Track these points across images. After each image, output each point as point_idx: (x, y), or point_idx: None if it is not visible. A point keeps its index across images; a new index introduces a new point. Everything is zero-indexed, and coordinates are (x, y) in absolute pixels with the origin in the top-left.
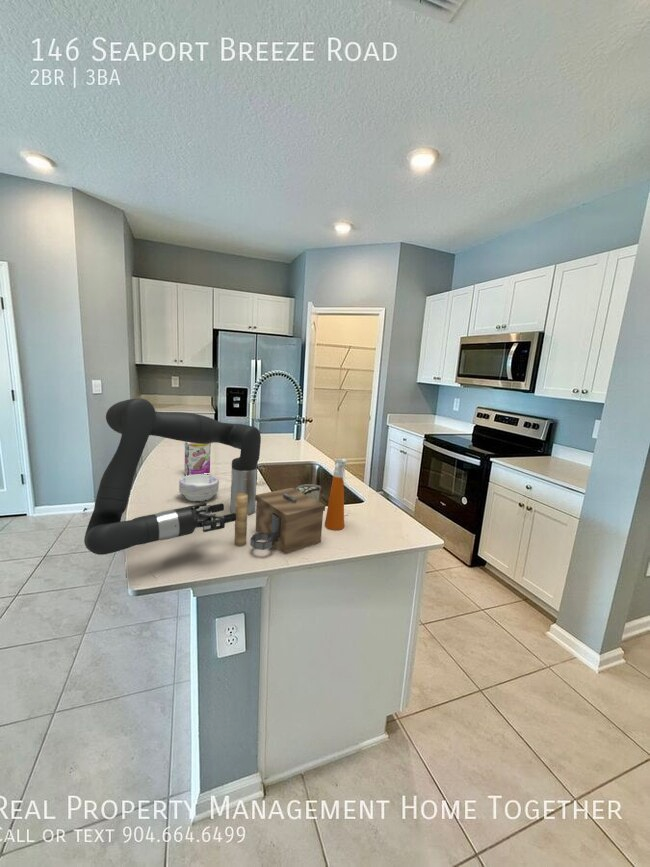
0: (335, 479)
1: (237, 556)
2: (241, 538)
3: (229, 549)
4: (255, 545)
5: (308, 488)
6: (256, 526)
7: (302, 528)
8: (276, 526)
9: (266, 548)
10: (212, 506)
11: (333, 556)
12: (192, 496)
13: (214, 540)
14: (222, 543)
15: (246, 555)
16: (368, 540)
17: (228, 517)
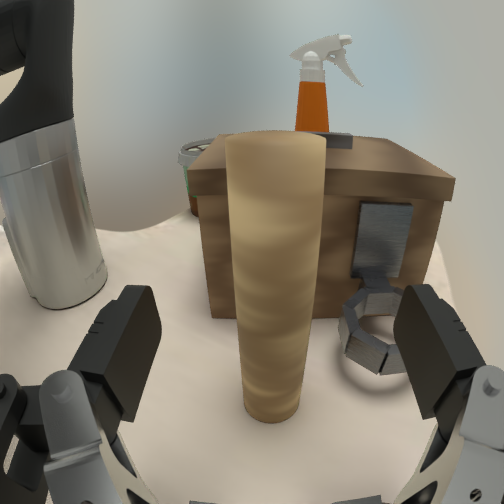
0: (318, 87)
1: (376, 447)
2: (301, 385)
3: (297, 458)
4: None
5: (201, 148)
6: (215, 301)
7: None
8: (389, 245)
9: None
10: (106, 378)
11: (437, 249)
12: None
13: (166, 472)
14: (220, 460)
15: (382, 414)
16: None
17: (471, 345)
